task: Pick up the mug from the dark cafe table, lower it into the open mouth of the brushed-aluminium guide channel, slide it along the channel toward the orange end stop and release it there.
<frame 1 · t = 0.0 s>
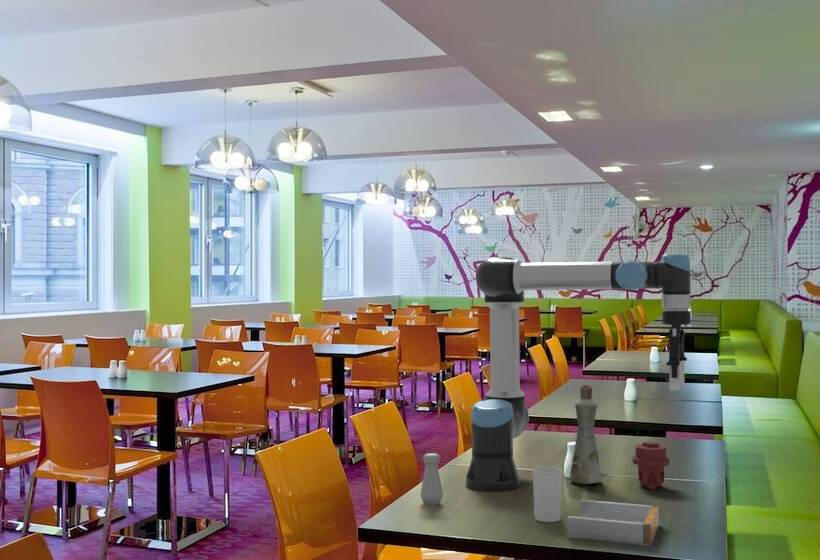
hand: (677, 387, 238), 28 cm above the table, fingers open, 13 cm apart
bottle: (585, 483, 246), on the table
salt shaker: (431, 504, 224), on the table
guide channel: (614, 531, 198), on the table
mug: (547, 517, 211), on the table
mechanical component: (651, 487, 240), on the table
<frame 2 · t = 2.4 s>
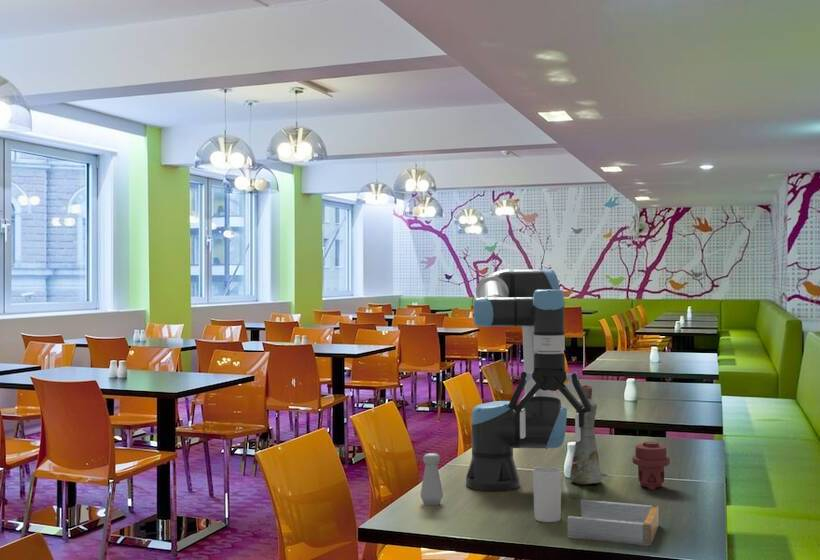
hand: (550, 439, 211), 19 cm above the table, fingers open, 13 cm apart
nothing on the table moved.
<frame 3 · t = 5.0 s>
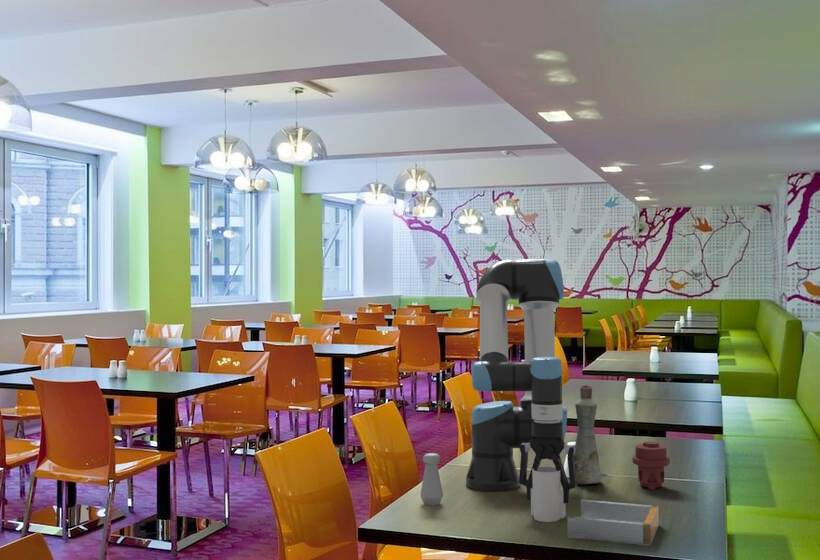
hand: (548, 514, 211), 1 cm above the table, fingers closed on mug, 6 cm apart
mug: (547, 517, 211), on the table, touching gripper
everything else where it was.
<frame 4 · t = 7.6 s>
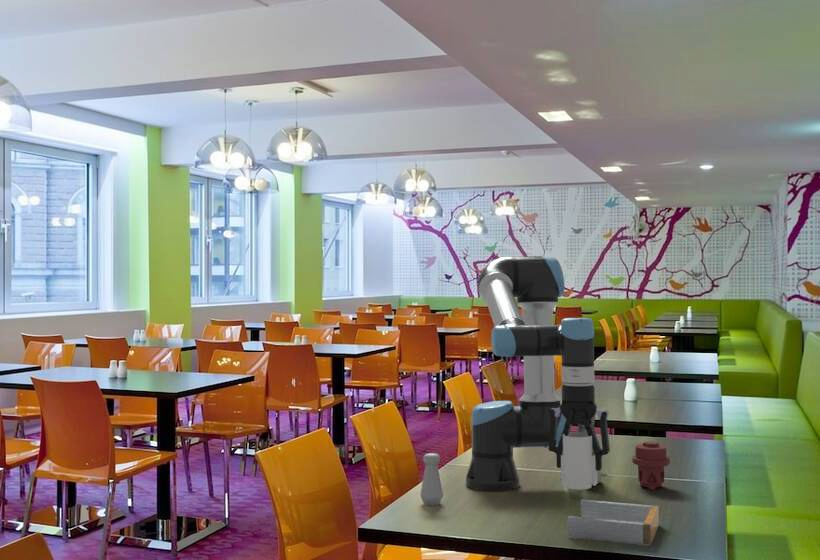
hand: (579, 482, 201), 11 cm above the table, fingers closed on mug, 6 cm apart
mug: (578, 485, 201), point 10 cm above the table, touching gripper
everything else where it was.
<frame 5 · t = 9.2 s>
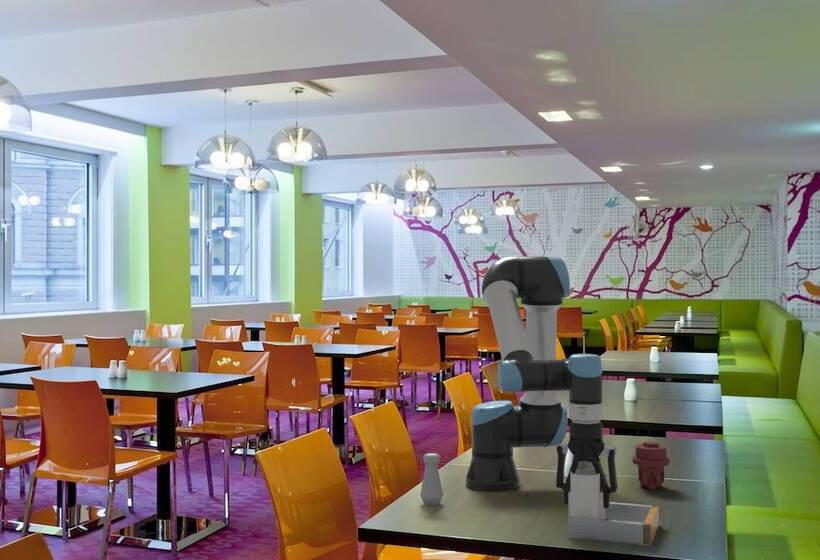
hand: (586, 519, 200), 2 cm above the table, fingers closed on mug, 6 cm apart
mug: (585, 523, 201), point 1 cm above the table, touching gripper
everything else where it was.
when the fingers open (2 cm above the table, at t = 10.7 s): mug stays where it is, resting on guide channel.
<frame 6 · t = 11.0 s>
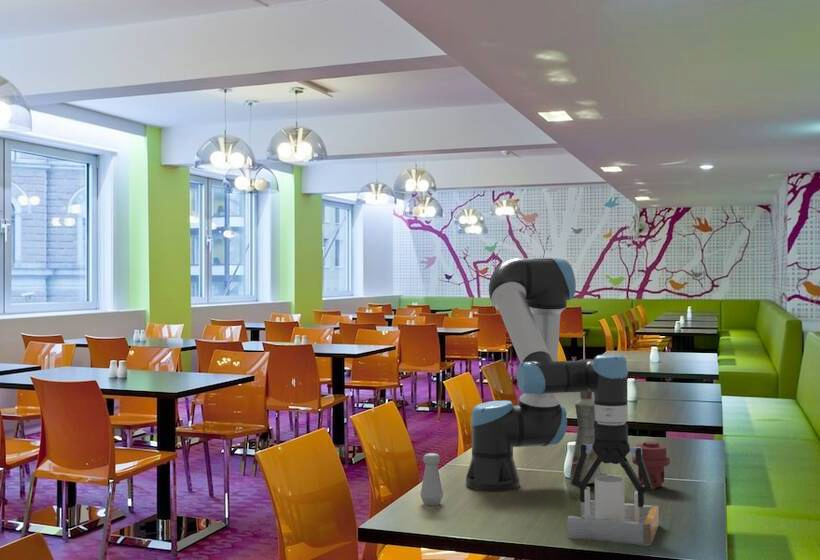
hand: (611, 518, 198), 3 cm above the table, fingers open, 10 cm apart
mug: (609, 529, 199), resting on guide channel
everything else where it was.
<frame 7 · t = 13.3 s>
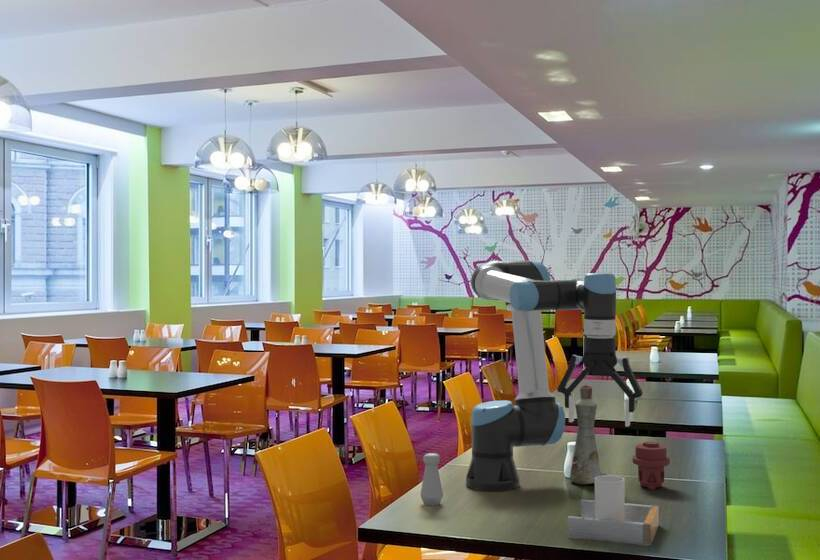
hand: (599, 423, 210), 23 cm above the table, fingers open, 13 cm apart
nothing on the table moved.
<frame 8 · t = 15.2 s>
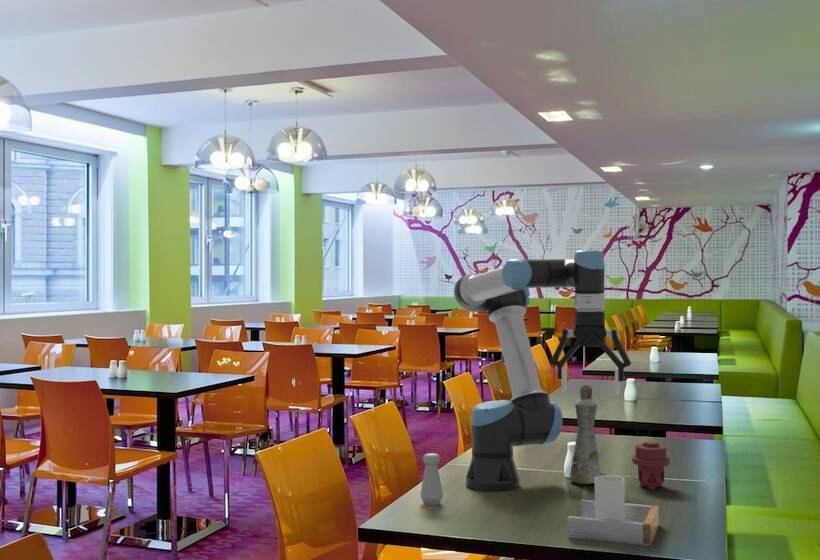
hand: (590, 393, 222), 29 cm above the table, fingers open, 13 cm apart
nothing on the table moved.
at the end: mug inside the target area (1.8 cm from its centre), resting on guide channel; mug tilted 0°; the gripper is holding nothing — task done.
